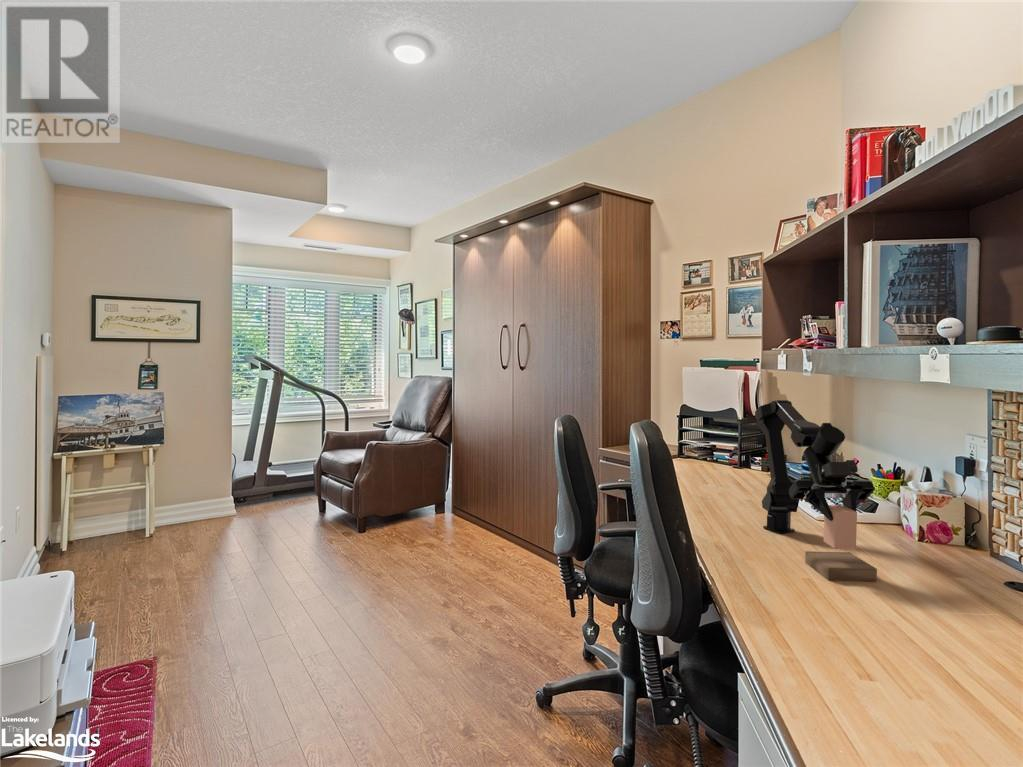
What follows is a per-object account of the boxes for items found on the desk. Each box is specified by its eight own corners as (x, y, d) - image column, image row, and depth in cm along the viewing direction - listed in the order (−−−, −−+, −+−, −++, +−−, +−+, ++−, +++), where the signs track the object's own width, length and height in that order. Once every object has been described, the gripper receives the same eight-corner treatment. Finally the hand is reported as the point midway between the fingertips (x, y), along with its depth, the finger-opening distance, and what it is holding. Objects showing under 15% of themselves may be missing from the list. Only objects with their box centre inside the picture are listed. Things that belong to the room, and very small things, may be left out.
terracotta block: (823, 541, 132) (824, 506, 132) (844, 541, 132) (845, 506, 131) (834, 548, 127) (835, 511, 127) (855, 549, 127) (857, 512, 126)
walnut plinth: (805, 562, 135) (805, 551, 135) (849, 563, 135) (849, 552, 135) (828, 580, 124) (828, 567, 124) (876, 581, 124) (877, 569, 124)
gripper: (795, 447, 133) (816, 502, 122) (871, 448, 132) (900, 504, 121) (780, 472, 141) (799, 525, 131) (852, 473, 140) (877, 527, 129)
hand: (843, 520), depth 128 cm, fingers closed on terracotta block, 5 cm apart
